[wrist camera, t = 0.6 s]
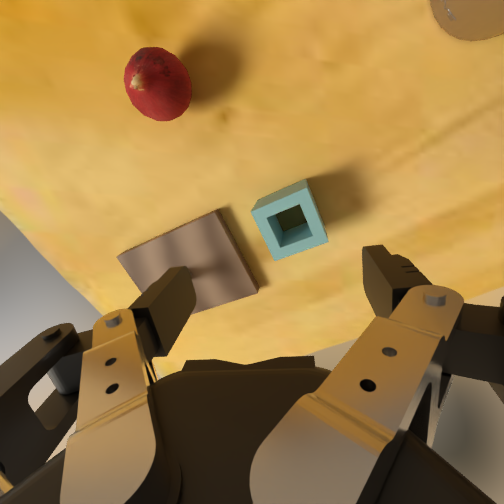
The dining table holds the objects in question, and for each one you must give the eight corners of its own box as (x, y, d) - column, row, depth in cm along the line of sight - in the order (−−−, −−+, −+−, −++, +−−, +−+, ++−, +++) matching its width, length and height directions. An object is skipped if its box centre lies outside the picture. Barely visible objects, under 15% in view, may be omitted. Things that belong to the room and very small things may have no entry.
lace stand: (218, 208, 33) (181, 245, 23) (259, 287, 37) (243, 348, 26) (122, 252, 38) (57, 298, 28) (167, 317, 42) (124, 378, 32)
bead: (305, 178, 30) (306, 187, 25) (324, 225, 32) (328, 241, 27) (257, 200, 32) (250, 211, 27) (278, 243, 34) (274, 261, 29)
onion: (146, 58, 27) (91, 34, 20) (199, 56, 27) (162, 30, 19) (154, 121, 30) (108, 119, 23) (204, 121, 29) (172, 119, 22)
